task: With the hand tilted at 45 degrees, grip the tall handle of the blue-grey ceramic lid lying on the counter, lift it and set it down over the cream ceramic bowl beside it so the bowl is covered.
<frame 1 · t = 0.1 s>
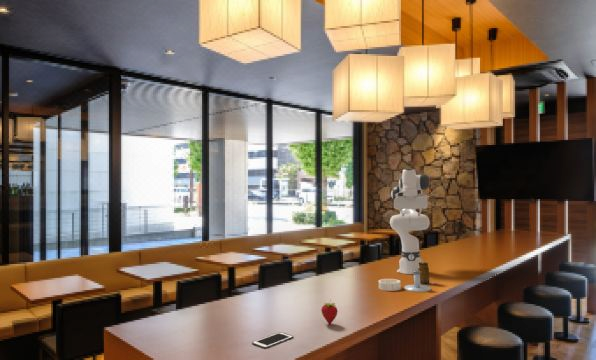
hand: (411, 216, 245), 39 cm above the bar counter, tool pointing down, fingers open, 8 cm apart
lid: (417, 289, 220), on the bar counter
bowl: (389, 288, 224), on the bar counter
cell phone: (273, 342, 147), on the bar counter
strawberry: (329, 324, 165), on the bar counter
condiment: (425, 283, 234), on the bar counter
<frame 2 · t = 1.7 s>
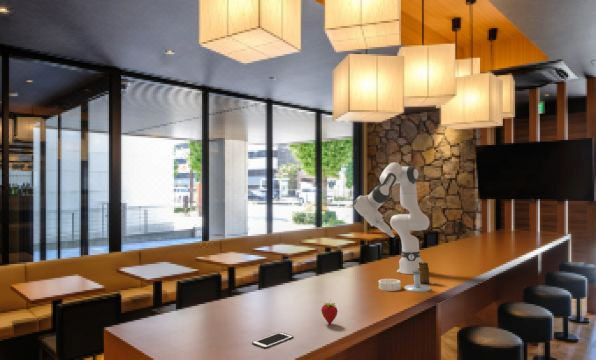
hand: (393, 236, 228), 29 cm above the bar counter, tool tilted 45°, fingers open, 8 cm apart
nothing on the bar counter moved.
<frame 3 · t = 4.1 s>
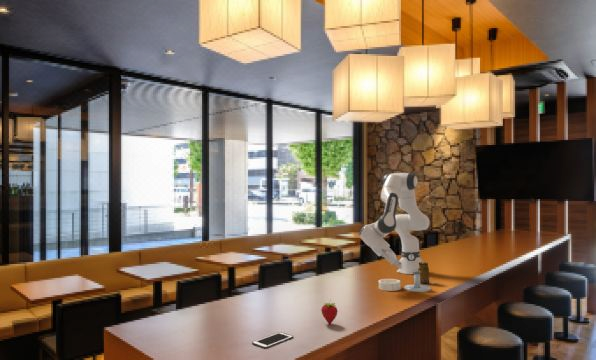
hand: (401, 266, 223), 12 cm above the bar counter, tool tilted 45°, fingers open, 8 cm apart
nothing on the bar counter moved.
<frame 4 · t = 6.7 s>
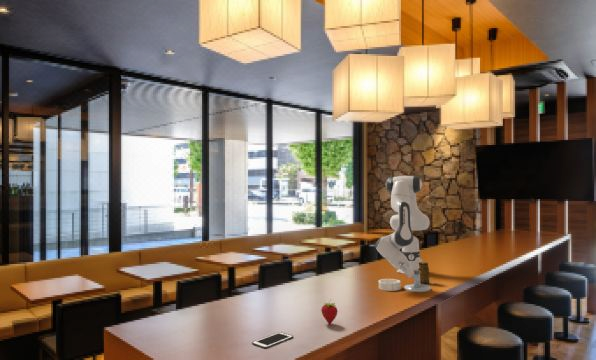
hand: (418, 279, 221), 5 cm above the bar counter, tool tilted 45°, fingers closed on lid, 3 cm apart
lid: (417, 288, 220), on the bar counter, touching gripper
everything else where it was.
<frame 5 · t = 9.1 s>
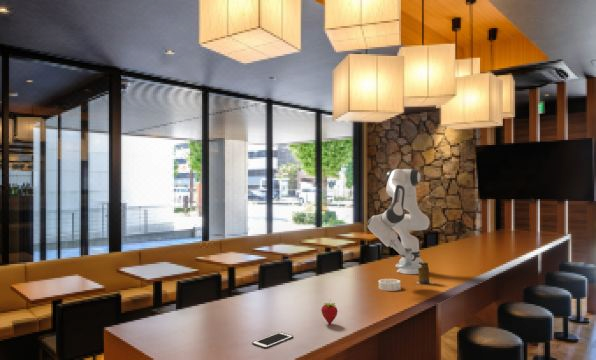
hand: (409, 256, 222), 18 cm above the bar counter, tool tilted 45°, fingers closed on lid, 3 cm apart
lid: (408, 266, 222), point 12 cm above the bar counter, touching gripper
everything else where it was.
when the fingers open (11 cm above the bar counter, at t = 11.6 s): lid drops 1 cm, resting on bowl.
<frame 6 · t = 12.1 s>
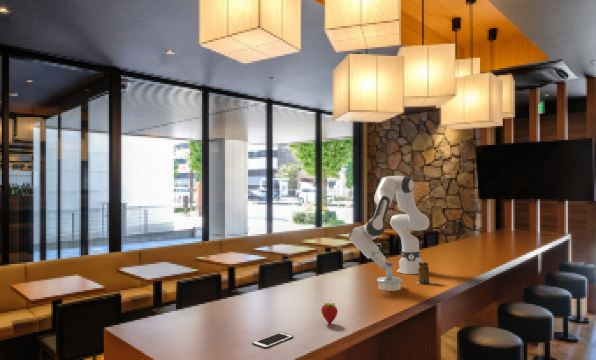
hand: (390, 268, 224), 11 cm above the bar counter, tool tilted 45°, fingers open, 8 cm apart
lid: (389, 281, 224), point 4 cm above the bar counter, touching bowl
everything else where it was.
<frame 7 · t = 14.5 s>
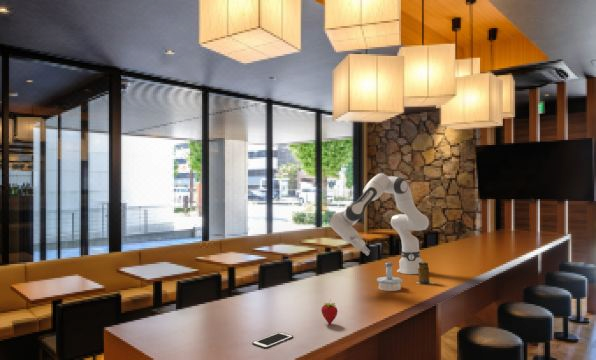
hand: (368, 253, 227), 19 cm above the bar counter, tool tilted 45°, fingers open, 8 cm apart
nothing on the bar counter moved.
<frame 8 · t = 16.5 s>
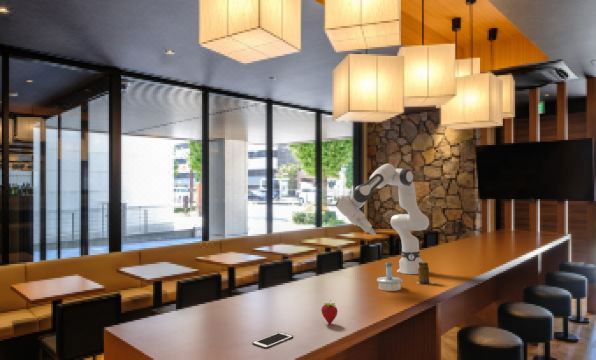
hand: (375, 235, 231), 29 cm above the bar counter, tool tilted 45°, fingers open, 8 cm apart
nothing on the bar counter moved.
at the end: lid 0.1 cm off-centre on the bowl, point 4.0 cm above the bowl's base; lid tilted 0°; the gripper is holding nothing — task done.
